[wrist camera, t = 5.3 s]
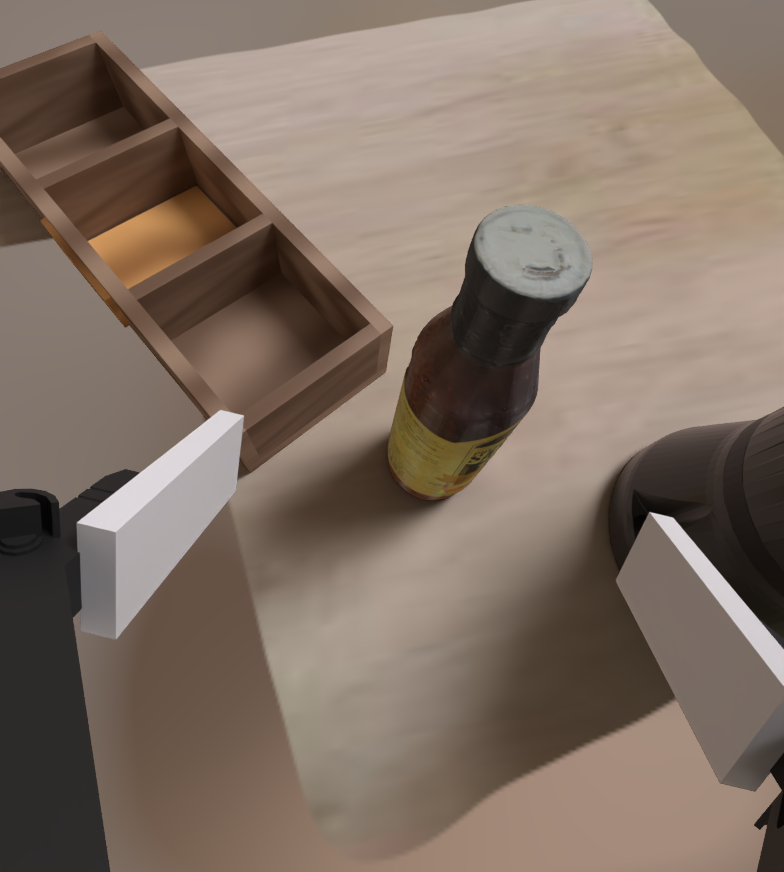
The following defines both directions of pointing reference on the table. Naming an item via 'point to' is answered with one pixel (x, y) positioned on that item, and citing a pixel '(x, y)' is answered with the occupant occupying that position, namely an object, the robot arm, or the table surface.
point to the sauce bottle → (485, 349)
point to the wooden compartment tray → (185, 246)
